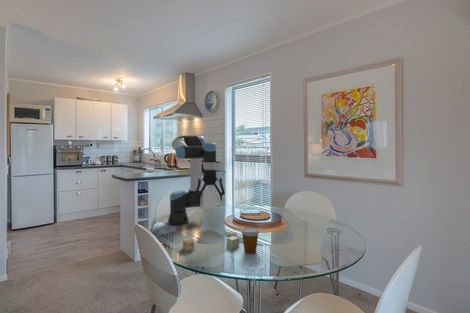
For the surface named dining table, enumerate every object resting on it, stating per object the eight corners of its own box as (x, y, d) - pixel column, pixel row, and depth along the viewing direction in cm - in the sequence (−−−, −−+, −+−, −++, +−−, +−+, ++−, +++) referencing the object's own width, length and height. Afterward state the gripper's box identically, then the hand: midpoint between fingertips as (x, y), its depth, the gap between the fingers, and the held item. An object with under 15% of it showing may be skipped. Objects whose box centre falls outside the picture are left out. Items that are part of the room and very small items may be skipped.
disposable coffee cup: (253, 256, 140) (253, 233, 140) (238, 252, 145) (238, 230, 145) (262, 250, 149) (261, 228, 148) (246, 246, 154) (246, 226, 153)
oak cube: (183, 248, 152) (183, 239, 152) (191, 247, 154) (191, 238, 154) (185, 251, 148) (185, 242, 147) (194, 250, 150) (194, 241, 150)
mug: (216, 210, 153) (216, 192, 152) (198, 208, 158) (198, 190, 157) (223, 207, 161) (223, 189, 160) (206, 205, 166) (206, 188, 165)
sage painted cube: (226, 246, 155) (226, 237, 154) (233, 244, 158) (233, 235, 158) (232, 248, 151) (232, 240, 151) (239, 246, 154) (239, 238, 154)
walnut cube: (228, 240, 164) (228, 232, 164) (236, 240, 164) (236, 232, 164) (228, 243, 159) (228, 235, 159) (236, 243, 159) (236, 235, 159)
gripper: (190, 170, 152) (191, 209, 153) (229, 169, 156) (230, 207, 157) (190, 169, 160) (190, 206, 161) (227, 168, 164) (228, 204, 165)
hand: (210, 206), depth 159 cm, fingers closed on mug, 10 cm apart
